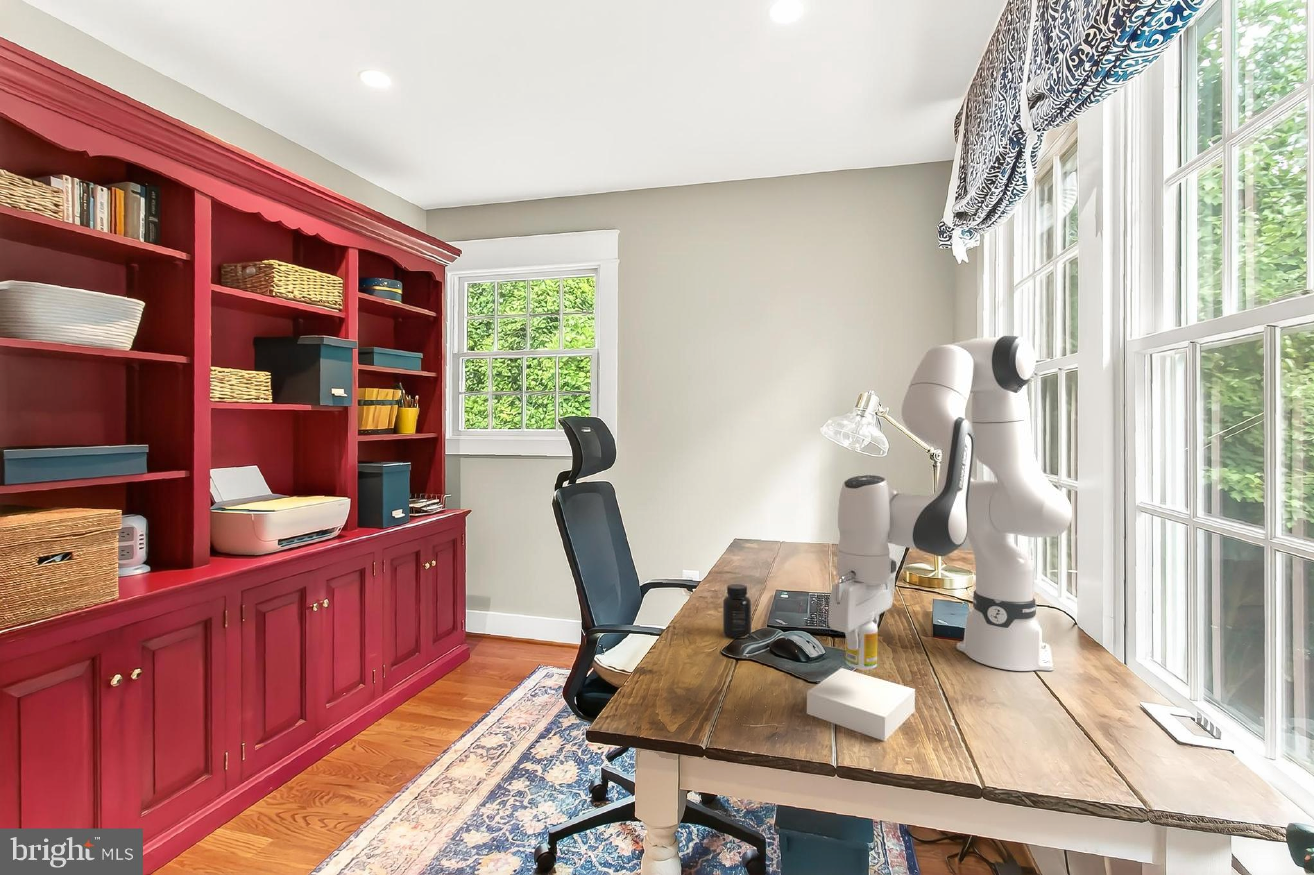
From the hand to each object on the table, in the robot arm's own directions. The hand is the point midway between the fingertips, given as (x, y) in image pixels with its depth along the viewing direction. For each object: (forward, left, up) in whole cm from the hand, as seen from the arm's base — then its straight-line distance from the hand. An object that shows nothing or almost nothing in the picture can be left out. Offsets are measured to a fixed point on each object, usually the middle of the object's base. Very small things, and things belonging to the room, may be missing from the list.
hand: (861, 643), depth 109 cm
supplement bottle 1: (-18, -39, -13) cm, 45 cm away
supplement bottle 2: (0, 0, -4) cm, 4 cm away
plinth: (0, 0, -13) cm, 13 cm away
